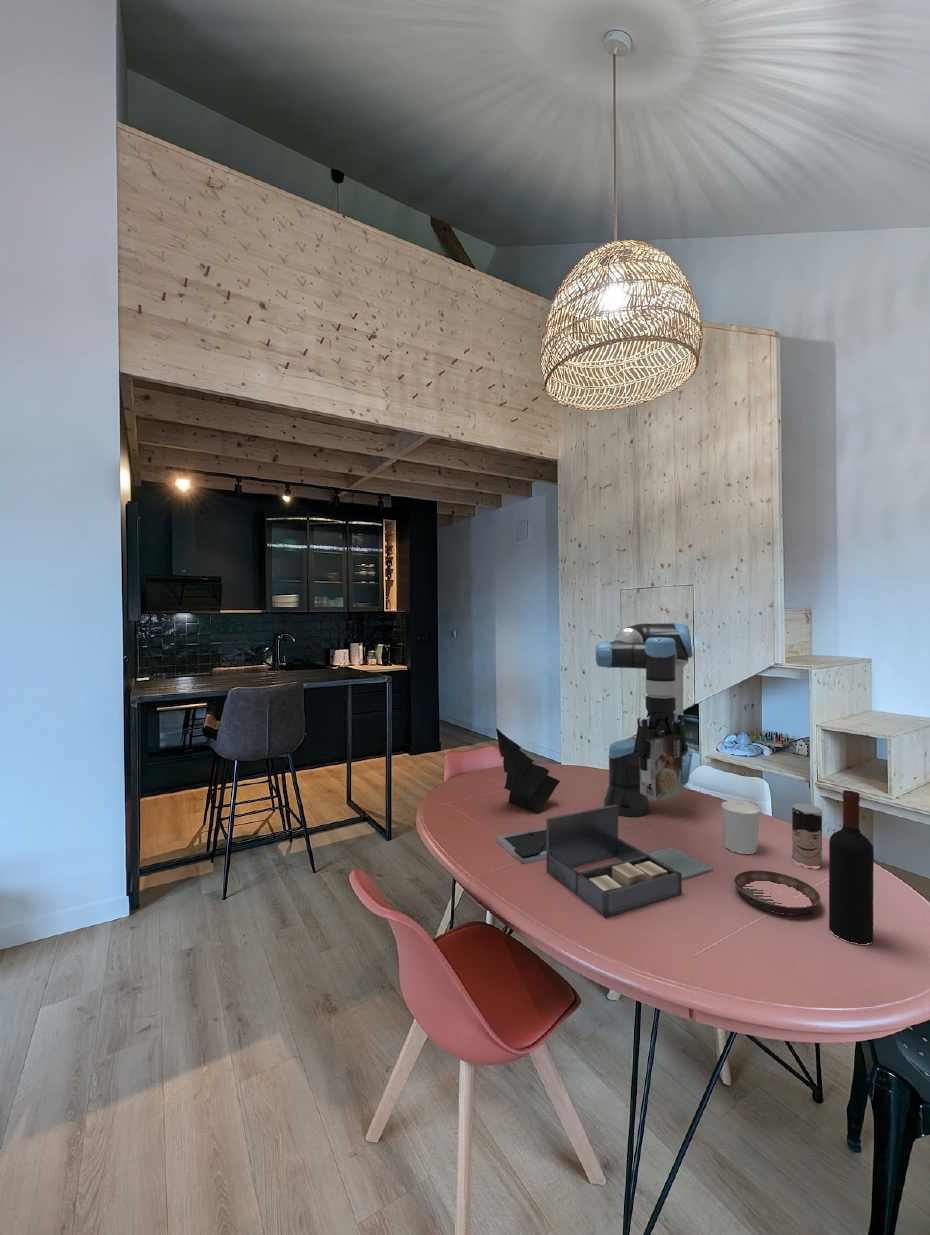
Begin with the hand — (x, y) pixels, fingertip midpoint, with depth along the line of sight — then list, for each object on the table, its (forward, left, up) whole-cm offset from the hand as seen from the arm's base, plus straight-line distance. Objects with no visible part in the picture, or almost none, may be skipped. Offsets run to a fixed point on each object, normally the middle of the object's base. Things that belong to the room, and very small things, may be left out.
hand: (660, 779), depth 143 cm
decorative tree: (+12, -52, -23) cm, 58 cm away
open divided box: (+18, +1, -23) cm, 29 cm away
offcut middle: (+18, +7, -23) cm, 30 cm away
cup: (-36, +16, -23) cm, 46 cm away
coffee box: (0, 0, -4) cm, 4 cm away
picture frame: (+22, -24, -24) cm, 41 cm away
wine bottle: (-13, +40, -23) cm, 48 cm away
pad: (-3, +1, -23) cm, 23 cm away
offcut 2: (+11, +7, -23) cm, 27 cm away
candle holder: (-28, +2, -23) cm, 37 cm away
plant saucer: (-12, +24, -24) cm, 36 cm away
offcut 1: (+25, +7, -23) cm, 35 cm away
